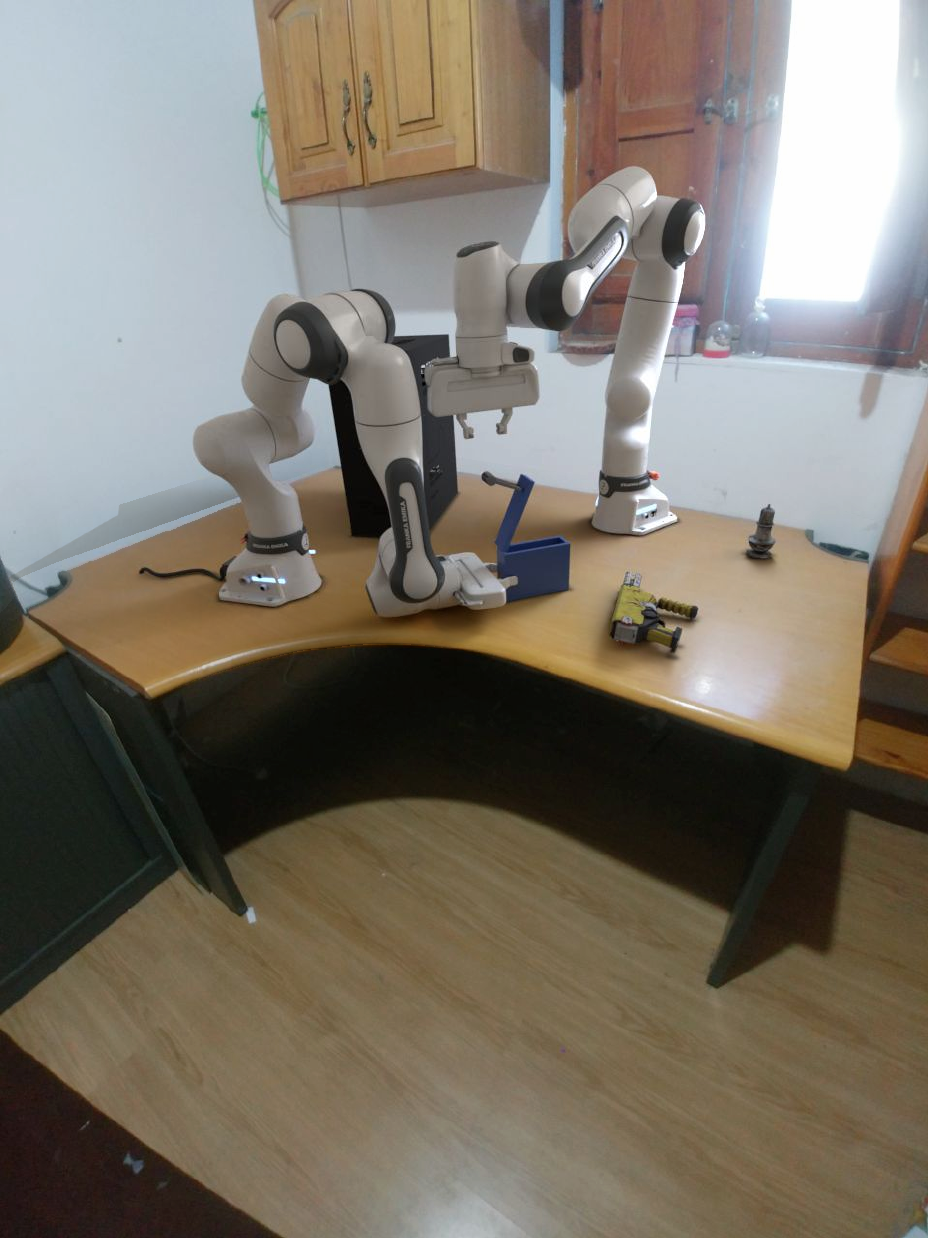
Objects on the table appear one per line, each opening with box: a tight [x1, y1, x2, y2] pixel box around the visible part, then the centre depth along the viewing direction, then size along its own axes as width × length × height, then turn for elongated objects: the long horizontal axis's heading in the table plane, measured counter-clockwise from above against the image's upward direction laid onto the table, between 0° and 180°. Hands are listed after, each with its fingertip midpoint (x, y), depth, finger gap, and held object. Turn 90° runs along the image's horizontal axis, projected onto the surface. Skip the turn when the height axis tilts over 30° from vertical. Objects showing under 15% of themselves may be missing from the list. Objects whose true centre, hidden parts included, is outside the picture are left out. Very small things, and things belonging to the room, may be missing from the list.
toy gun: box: [608, 570, 699, 654], centre depth 115 cm, size 5×24×15 cm
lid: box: [481, 470, 536, 553], centre depth 117 cm, size 15×5×9 cm
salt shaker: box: [746, 503, 777, 559], centre depth 136 cm, size 6×6×12 cm
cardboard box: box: [327, 333, 459, 538], centre depth 164 cm, size 38×20×45 cm, turn 167°
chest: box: [496, 534, 571, 603], centre depth 126 cm, size 14×5×11 cm, turn 107°
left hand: (510, 573), depth 125 cm, fingers closed on chest, 5 cm apart
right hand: (485, 435), depth 110 cm, fingers open, 5 cm apart
